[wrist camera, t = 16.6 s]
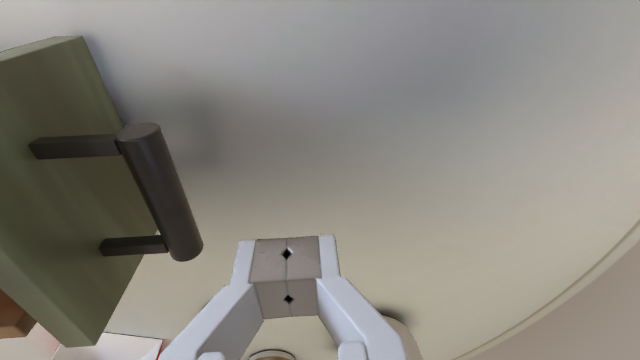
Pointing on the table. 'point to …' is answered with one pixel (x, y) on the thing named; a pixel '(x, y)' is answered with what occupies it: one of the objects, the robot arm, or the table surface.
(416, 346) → the teacup
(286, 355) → the pill bottle
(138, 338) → the red patterned box
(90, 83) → the drawer
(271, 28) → the table surface
